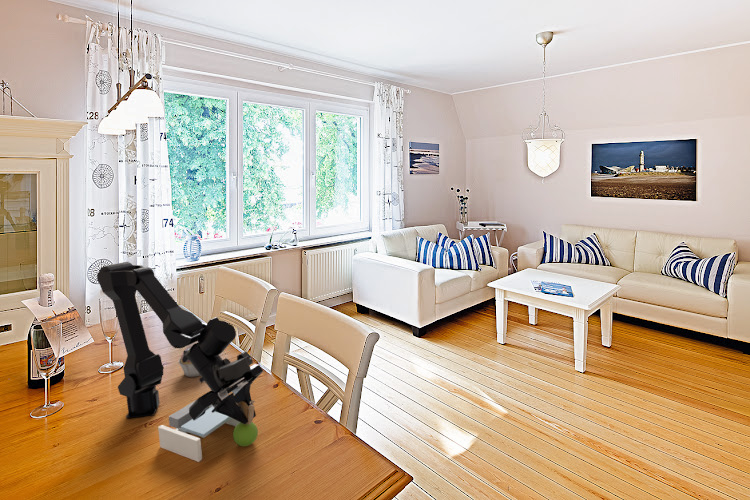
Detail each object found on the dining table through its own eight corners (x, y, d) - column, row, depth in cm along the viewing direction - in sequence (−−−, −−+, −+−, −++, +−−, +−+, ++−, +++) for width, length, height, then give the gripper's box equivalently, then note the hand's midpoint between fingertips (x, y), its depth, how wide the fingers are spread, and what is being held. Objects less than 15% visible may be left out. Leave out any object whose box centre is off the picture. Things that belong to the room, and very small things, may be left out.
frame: (198, 461, 93) (196, 441, 92) (160, 447, 98) (158, 427, 97) (245, 426, 106) (244, 407, 105) (209, 415, 111) (208, 397, 110)
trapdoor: (204, 441, 94) (203, 431, 94) (166, 427, 99) (165, 418, 99) (238, 416, 103) (238, 407, 103) (202, 405, 109) (202, 396, 108)
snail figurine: (245, 456, 95) (241, 406, 92) (229, 445, 99) (225, 396, 96) (265, 444, 99) (262, 396, 97) (249, 434, 103) (246, 387, 101)
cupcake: (214, 365, 140) (212, 335, 138) (207, 378, 131) (204, 347, 129) (184, 366, 139) (181, 337, 137) (175, 380, 130) (171, 349, 128)
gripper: (194, 362, 88) (240, 424, 85) (255, 332, 105) (294, 383, 102) (170, 390, 92) (212, 450, 90) (232, 357, 109) (269, 406, 107)
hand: (250, 420), depth 97 cm, fingers closed on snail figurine, 2 cm apart
